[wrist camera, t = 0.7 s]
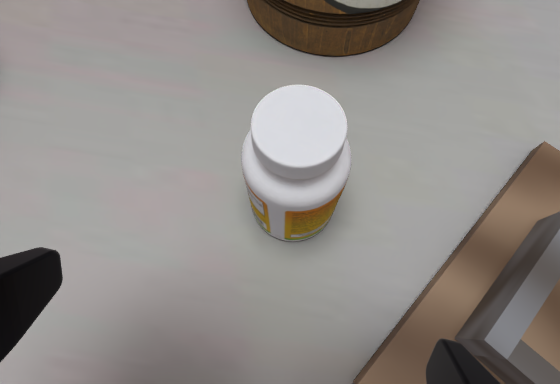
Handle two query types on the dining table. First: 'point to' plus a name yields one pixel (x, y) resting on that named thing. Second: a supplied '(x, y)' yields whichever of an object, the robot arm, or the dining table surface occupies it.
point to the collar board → (492, 290)
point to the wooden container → (333, 23)
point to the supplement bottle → (296, 161)
